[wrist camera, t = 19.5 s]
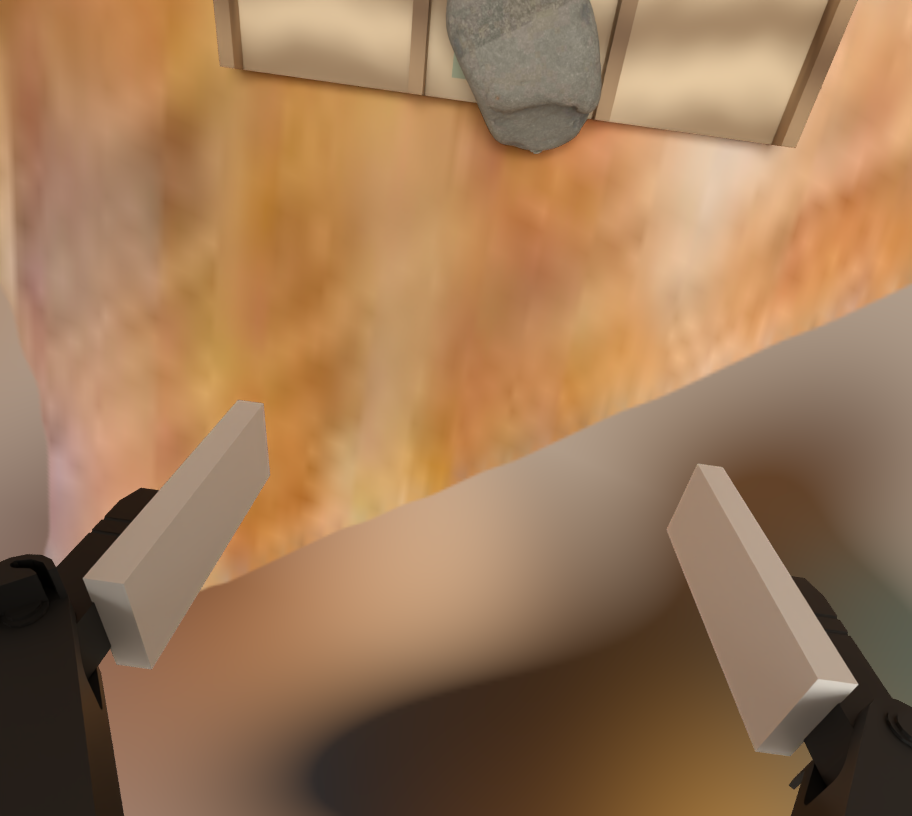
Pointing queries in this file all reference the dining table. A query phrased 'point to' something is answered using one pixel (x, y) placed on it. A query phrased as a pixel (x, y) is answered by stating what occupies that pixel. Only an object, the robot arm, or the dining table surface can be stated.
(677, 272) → the dining table surface
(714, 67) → the ledge
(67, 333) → the dining table surface
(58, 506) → the dining table surface
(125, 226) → the dining table surface
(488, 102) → the stone
